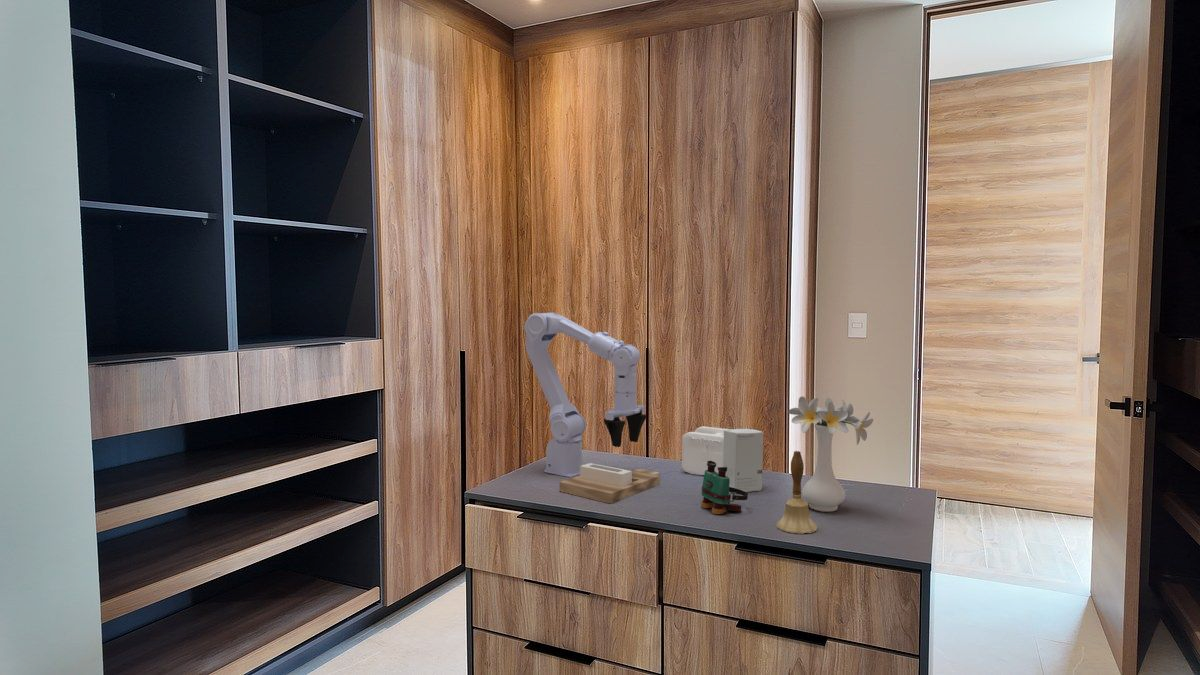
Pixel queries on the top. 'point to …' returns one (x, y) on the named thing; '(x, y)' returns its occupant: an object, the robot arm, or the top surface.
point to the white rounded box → (702, 449)
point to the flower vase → (826, 448)
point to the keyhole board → (608, 487)
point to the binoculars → (719, 490)
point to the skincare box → (743, 458)
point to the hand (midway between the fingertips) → (625, 443)
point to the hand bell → (797, 504)
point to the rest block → (648, 472)
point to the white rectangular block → (606, 474)
